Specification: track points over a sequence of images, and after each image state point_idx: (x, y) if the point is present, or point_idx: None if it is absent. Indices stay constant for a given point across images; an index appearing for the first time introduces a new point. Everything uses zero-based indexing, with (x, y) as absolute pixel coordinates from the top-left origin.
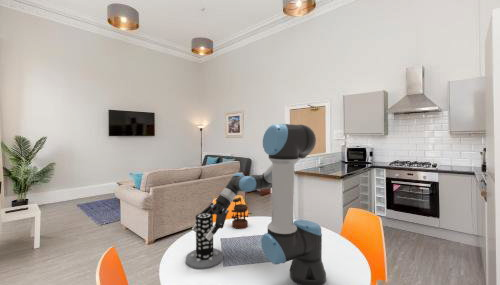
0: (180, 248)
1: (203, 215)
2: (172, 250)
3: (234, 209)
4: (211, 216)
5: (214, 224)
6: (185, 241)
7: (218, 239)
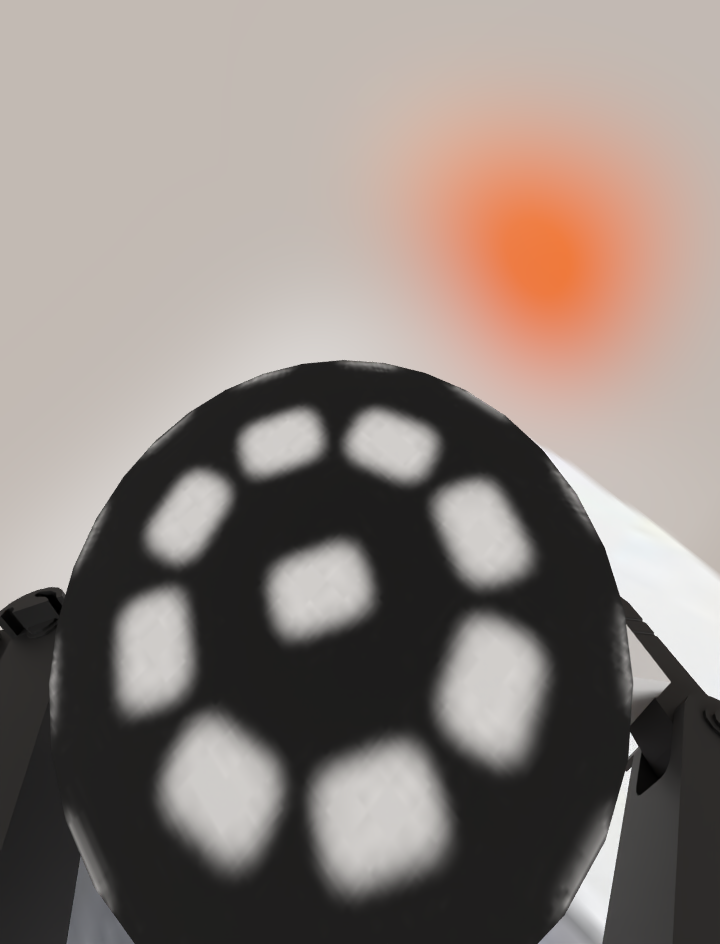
0: (602, 542)
1: (347, 576)
2: (601, 495)
3: None
4: (57, 708)
5: (57, 598)
6: (711, 631)
7: (597, 900)
